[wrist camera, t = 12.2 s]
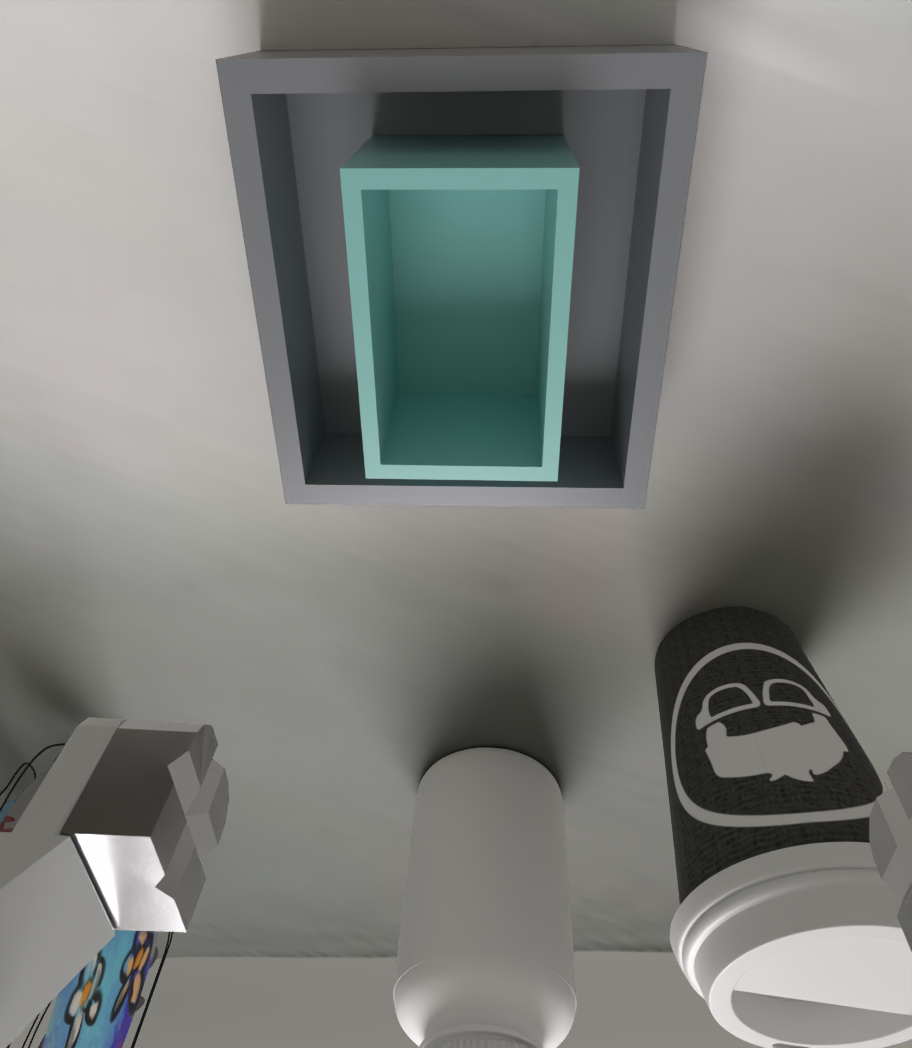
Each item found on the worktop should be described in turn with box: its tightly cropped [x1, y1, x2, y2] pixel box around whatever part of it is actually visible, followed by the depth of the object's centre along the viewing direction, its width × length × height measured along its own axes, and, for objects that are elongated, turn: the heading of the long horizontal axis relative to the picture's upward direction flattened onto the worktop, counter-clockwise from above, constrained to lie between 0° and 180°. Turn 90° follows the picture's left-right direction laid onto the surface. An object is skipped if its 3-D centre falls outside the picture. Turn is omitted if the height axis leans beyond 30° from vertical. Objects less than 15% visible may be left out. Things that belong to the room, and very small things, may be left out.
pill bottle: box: [393, 748, 577, 1048], centre depth 37 cm, size 8×8×15 cm
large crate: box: [216, 45, 707, 508], centre depth 26 cm, size 13×14×4 cm
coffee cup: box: [655, 608, 912, 1048], centre depth 31 cm, size 10×10×15 cm
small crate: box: [340, 134, 580, 481], centre depth 25 cm, size 6×9×6 cm, turn 1°
